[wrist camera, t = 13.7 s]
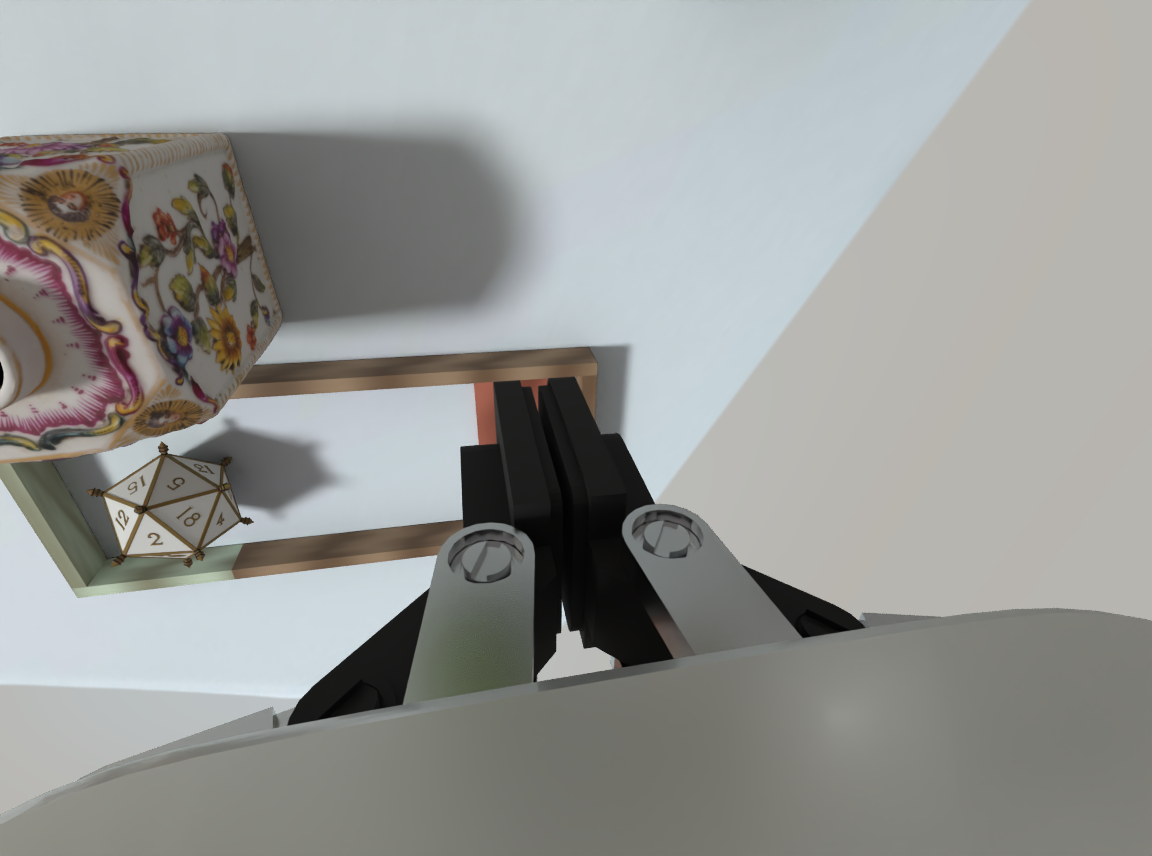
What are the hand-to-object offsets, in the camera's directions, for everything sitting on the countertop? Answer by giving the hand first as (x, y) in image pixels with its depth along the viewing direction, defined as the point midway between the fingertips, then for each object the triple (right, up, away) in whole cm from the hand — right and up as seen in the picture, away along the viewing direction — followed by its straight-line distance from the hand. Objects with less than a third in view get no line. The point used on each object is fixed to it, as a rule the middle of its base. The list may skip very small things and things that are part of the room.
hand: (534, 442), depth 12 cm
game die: (-28, -3, +30) cm, 42 cm away
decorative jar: (-24, +12, +22) cm, 35 cm away
